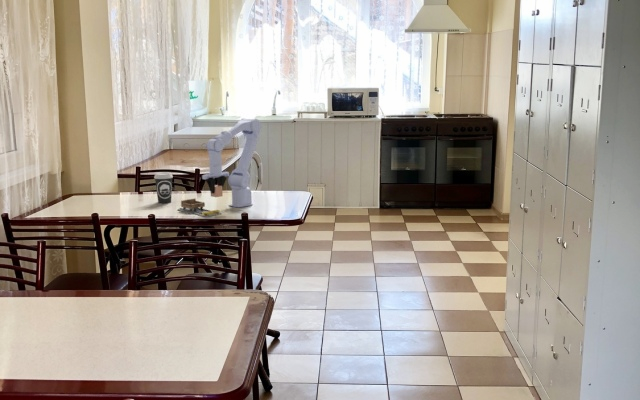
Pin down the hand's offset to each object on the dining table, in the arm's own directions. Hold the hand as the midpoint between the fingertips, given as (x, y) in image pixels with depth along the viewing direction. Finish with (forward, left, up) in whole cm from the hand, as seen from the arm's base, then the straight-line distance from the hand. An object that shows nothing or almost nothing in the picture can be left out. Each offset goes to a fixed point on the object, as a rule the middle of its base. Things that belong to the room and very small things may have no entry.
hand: (216, 192), depth 327 cm
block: (0, 0, -2) cm, 2 cm away
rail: (+8, -3, -9) cm, 12 cm away
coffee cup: (+5, -37, -9) cm, 39 cm away
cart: (+8, -8, -9) cm, 15 cm away
